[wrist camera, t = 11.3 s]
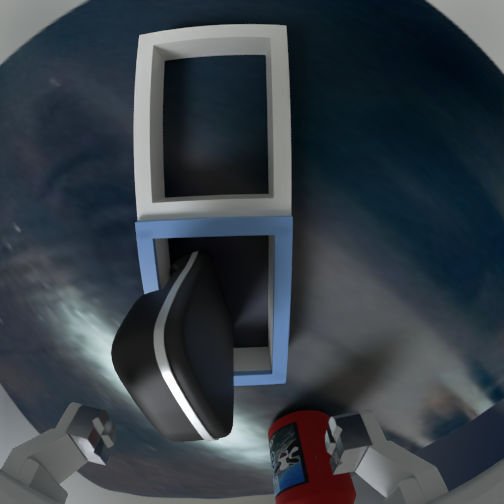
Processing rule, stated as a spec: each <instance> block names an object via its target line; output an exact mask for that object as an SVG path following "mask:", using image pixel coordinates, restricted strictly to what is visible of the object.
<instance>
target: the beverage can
mask: <svg viewBox="0 0 504 504" xmlns="http://www.w3.org/2000/svg"><path fill="white" fill-rule="evenodd" d="M329 420H330V417H329V416H328V415H327V414H325V413H323V412H320V411H315V410H304V411H297V412H294V413H290V414H288V415H285V416H283V417H281V418H280V419H278V420H277V421H275V422H274V423H273V424H272V426H271V427H270V429H269V432H268V437H269V447H270V457H271V466H272V475H273V483H274V491H275V498H276V504H354V500H355V497H356V492H355V489H354V486H353V482H352V479H351V476H350V473H349V472H347V473H341V474H335V475H333V472H332V469H331V465H330V459H331V456H332V455H331V454H329V453H328V452H327V449H326V444H325V435H326V431H327V429H328V428H330V425H329Z"/></svg>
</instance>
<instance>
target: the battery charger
mask: <svg viewBox="0 0 504 504" xmlns="http://www.w3.org/2000/svg"><path fill="white" fill-rule="evenodd" d="M170 277H171V278H170V279H169V281H168V282H167V284H166V285H165V286H164V288H163V289H160V290H156V291H152V292H149V293H147V294H144V295H142V296H141V297H140V298H139V299H138V300H137V301H136V302H135V304H134V305H133V306H132V308H131V309H130V311H129V312H128V314H127V315H126V317H125V319H124V320H123V322H122V324H121V326H120V327H119V329H118V331H117V333H116V336H115V338H114V341H113V344H112V350H111V356H112V362H113V365H114V368H115V371H116V373H117V375H118V376H119V378H120V380H121V381H122V383H123V385H124V386H125V388H126V389H127V391H128V392H129V394H130V395H131V397H132V398H133V400H134V401H135V403H136V404H137V406H138V407H139V408H140V410H141V411H142V412H143V414H144V415H145V416H146V418H147V419H148V420H149V421H150V423H151V424H152V425H153V426H154V428H155V429H156V430H157V431H158V432H159V433H160V434H161V435H162V436H163V437H165V438H167V439H169V440H172V441H180V442H184V441H196V440H206V441H213V440H218V439H219V438H223V437H226V436H227V435H229V434H230V433H231V430H232V427H233V404H234V352H233V348H234V325H233V322H232V319H231V316H230V313H229V310H228V308H227V305H226V302H225V299H224V296H223V293H222V290H221V287H220V284H219V281H218V278H217V275H216V273H215V270H214V267H213V264H212V261H211V258H210V255H209V253H208V252H207V251H200V252H199V251H196V252H193V253H192V254H190V255H186V256H184V257H182V258H180V259H178V260H177V261H176V262H174V263H173V265H172V266H171V269H170Z"/></svg>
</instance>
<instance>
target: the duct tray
mask: <svg viewBox="0 0 504 504" xmlns="http://www.w3.org/2000/svg"><path fill="white" fill-rule="evenodd" d="M220 55H266V80H267V123H268V194H235V195H207V196H186V197H169V198H165V190H164V166H163V87H164V65H165V61H167V60H175V59H183V58H192V57H204V56H220ZM134 169H135V190H136V205H137V217H138V221H137V222H135V227H136V237H137V246H138V254H139V262H140V269H141V276H142V282H143V289H144V294H147V293H149V292H152V291H156V290H160V289H163V288H164V286H165V285H166V284H167V282H168V281H169V279H170V278H171V277H170V269H171V266H170V256H169V246H168V238H184V237H213V236H248V235H269V289H268V347H249V348H233V352H234V386H241V385H265V384H281V383H286V371H287V356H288V340H289V322H290V300H291V274H292V237H293V217H292V216H291V116H290V86H289V63H288V44H287V28H286V26H285V25H265V24H230V25H211V26H198V27H188V28H180V29H173V30H166V31H160V32H154V33H148V34H143V35H139V43H138V53H137V65H136V78H135V98H134Z"/></svg>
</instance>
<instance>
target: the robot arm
mask: <svg viewBox="0 0 504 504" xmlns="http://www.w3.org/2000/svg"><path fill="white" fill-rule="evenodd" d="M108 418H109V415H108V413H107V411H105V410H101V409H97V408H93V407H89V406H85V405H82V404H78V403H74V402H72V403H71V404H69V406H68V407H67V409H66V411H65V412H64V414H63V416H62V417H61V419H60V421H59V423H58V424H57V426H56V428H55V429H50V430H48V431H46V432H44V433H42V434H41V435H39V436H37V437H35V438H33V439H31V440H29V441H27V442H25V443H23V444H21V445H19V446H17V447H15V448H13V449H12V452H11V453H10V455H9V456H8V458H7V460H6V462H5V463H4V465H3V467H2V468H1V469H0V504H64V503H65V501H66V498H67V495H68V494H67V492H66V491H65V490H64V489H63V488H62V487H61V486H60V485H59V484H60V483H61V482H63V481H64V480H65V479H67V478H68V477H69V476H70V475H72V474H73V473H74V472H75V471H77V470H78V469H79V468H80V467H82V466H83V465H84V464H85V463H87V462H88V461H91V462H95V463H98V464H102V465H106V464H107V461H108V458H109V456H110V450H109V447H111V446H112V445H114V442H115V440H116V430H115V426H114V424H113V423H112V422H111V421H109V420H108ZM329 425H330V428H328V429H327V431H326V435H325V444H326V449H327V452H328V453H329V454H331V455H332V456H331V459H330V465H331V469H332V472H333V475H335V474H341V473H347V472H352V471H355V472H356V473H357V474H358V475H359V476H360V477H362V478H363V479H364V480H365V481H366V482H367V483H369V484H370V485H371V486H372V487H373V488H375V489H376V490H377V491H379V492H380V493H381V494H382V495H383V496H385V497H386V499H385V500H384V501H383V502H382V503H381V504H504V459H502V460H501V461H499V462H498V463H496V464H495V465H493V466H492V467H491V468H489V469H487V470H486V471H484V472H483V473H481V474H480V475H478V476H476V477H475V478H473V479H471V480H470V481H468V482H466V483H465V484H463V485H461V486H459V487H457V488H455V489H454V490H452V491H450V492H448V489H447V487H446V485H445V483H444V481H443V480H442V477H441V475H440V473H439V471H438V469H437V467H435V466H434V465H432V464H430V463H428V462H426V461H425V460H423V459H421V458H419V457H418V456H416V455H414V454H412V453H411V452H409V451H407V450H405V449H404V448H402V447H400V446H399V445H397V444H395V443H394V442H392V441H387V440H386V438H385V436H384V434H383V432H382V430H381V427H380V425H379V423H378V421H377V419H376V417H375V415H374V412H373V411H372V410H367V411H362V412H355V413H349V414H344V415H338V416H332V417H331V418H330V420H329Z"/></svg>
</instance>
